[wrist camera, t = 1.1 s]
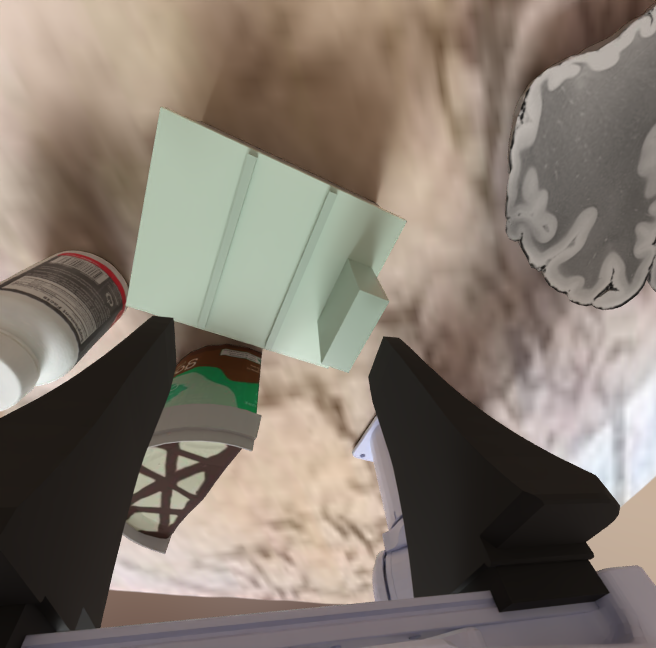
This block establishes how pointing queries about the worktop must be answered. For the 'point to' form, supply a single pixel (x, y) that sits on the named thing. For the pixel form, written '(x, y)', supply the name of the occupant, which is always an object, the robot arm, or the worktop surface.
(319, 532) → the worktop surface
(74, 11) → the worktop surface
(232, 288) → the lid
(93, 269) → the pill bottle
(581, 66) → the brain slice
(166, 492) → the food container
